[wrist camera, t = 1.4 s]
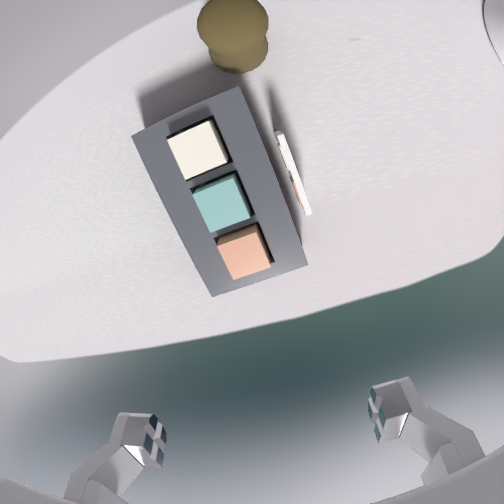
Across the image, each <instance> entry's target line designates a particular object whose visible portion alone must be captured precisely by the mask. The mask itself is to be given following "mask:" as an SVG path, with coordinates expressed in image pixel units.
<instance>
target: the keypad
mask: <svg viewBox="0 0 504 504" xmlns="http://www.w3.org/2000/svg"><path fill="white" fill-rule="evenodd" d="M211 120H213V121H214V123H215V126H216V128H217V130H218V133H219V135H220V137H221V140H222V142H223V144H224V147H225V149H226V151H227V154H228V156H229V159H228V161H227V163H224V164H222V165H219V166H217V167H215V168H212V169H210V170H207V171H205V172H203V173H200V174H198V175H196V176H193V177H191V178H189V179H186V180H185V178H184V176H183V174H182V172H181V170H180V167H179V165H178V163H177V161H176V159H175V157H174V154H173V152H172V150H171V148H170V146H169V143H168V141H167V140H168V139H170V138H172V137H174V136H176V135H179V134H181V133H183V132H185V131H187V130H189V129H192V128H194V127H196V126H198V125H200V124H203V123H205V122H207V121H211ZM274 135H275V138H276V140H277V145H278V147H279V150H280V153H281V155H282V158H283V161H284V163H285V166H286V168H287V169H288V172H289V174H290V179H291V182H292V185H293V187H294V190H295V193H296V196H297V198H298V201H299V203H300V205H301V206H302V208H303V210H304V212H305V214H306V216H308V215H311V214H312V211H311V208H310V205H309V203H308V200H307V197H306V194H305V191H304V188H303V185H302V182H301V180H300V177H299V174H298V171H297V168H296V166H295V163H294V160H293V157H292V155H291V152H290V149H289V147H288V144H287V142H286V139H285V136H284V134H283V133H282V132H280V131H276V132H274ZM131 137H132V139H133V141H134V143H135V146H136V148H137V150H138V152H139V154H140V157H141V159H142V161H143V163H144V165H145V167H146V169H147V171H148V174H149V176H150V178H151V180H152V182H153V184H154V186H155V188H156V190H157V192H158V194H159V196H160V198H161V200H162V202H163V204H164V206H165V208H166V210H167V212H168V214H169V216H170V218H171V220H172V222H173V224H174V226H175V228H176V230H177V232H178V234H179V236H180V238H181V240H182V242H183V244H184V246H185V248H186V249H187V251H188V253H189V255H190V257H191V259H192V261H193V263H194V265H195V266H196V268H197V270H198V272H199V274H200V276H201V278H202V279H203V281H204V283H205V285H206V287H207V289H208V290H209V292H210V294H211V296H212V297H214V296H217V295H220V294H223V293H227V292H230V291H233V290H236V289H239V288H242V287H245V286H248V285H251V284H254V283H257V282H260V281H263V280H266V279H269V278H272V277H275V276H278V275H281V274H283V273H286V272H289V271H292V270H295V269H298V268H301V267H304V266H307V265H308V263H307V260H306V257H305V254H304V251H303V248H302V245H301V242H300V239H299V236H298V234H297V231H296V228H295V225H294V222H293V220H292V217H291V214H290V212H289V209H288V206H287V203H286V201H285V198H284V195H283V193H282V190H281V187H280V185H279V182H278V180H277V177H276V174H275V172H274V169H273V167H272V164H271V162H270V159H269V156H268V154H267V151H266V149H265V146H264V144H263V141H262V139H261V136H260V134H259V131H258V129H257V127H256V124H255V122H254V119H253V117H252V114H251V112H250V110H249V107H248V105H247V103H246V100H245V98H244V95H243V93H242V91H241V89H240V87H239V86H238V87H235V88H232V89H230V90H227V91H225V92H222V93H220V94H218V95H215V96H213V97H210V98H208V99H206V100H203V101H201V102H199V103H197V104H194V105H192V106H190V107H188V108H186V109H183V110H181V111H179V112H177V113H175V114H173V115H171V116H169V117H167V118H165V119H163V120H161V121H159V122H157V123H155V124H153V125H151V126H149V127H147V128H145V129H143V130H142V131H140V132H138V133H136V134H134V135H132V136H131ZM232 172H236V175H237V177H238V179H239V182H240V184H241V186H242V189H243V191H244V194H245V196H246V198H247V201H248V203H249V205H250V218H248V219H246V220H243V221H240V222H238V223H235V224H232V225H230V226H227V227H224V228H222V229H219V230H217V231H214V232H211V233H210V231H209V229H208V227H207V225H206V223H205V221H204V219H203V217H202V214H201V212H200V210H199V208H198V206H197V204H196V202H195V200H194V198H193V195H192V194H193V193H194V191H195V190H196V189H197V187H198V186H201V185H203V184H205V183H208V182H210V181H213V180H215V179H217V178H220V177H222V176H225V175H227V174H230V173H232ZM255 222H257V225H258V227H259V229H260V232H261V234H262V237H263V239H264V241H265V244H266V246H267V249H268V251H269V254H270V263H271V267H270V268H267V269H264V270H262V271H259V272H256V273H253V274H250V275H247V276H244V277H241V278H238V279H235V280H233V278H232V276H231V274H230V272H229V270H228V268H227V266H226V264H225V262H224V260H223V258H222V256H221V254H220V252H219V250H218V248H217V244H218V240H219V236H220V235H222V234H225V233H228V232H230V231H233V230H236V229H238V228H241V227H244V226H246V225H249V224H252V223H255Z"/></svg>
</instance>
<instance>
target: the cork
mask: <svg viewBox="0 0 504 504" xmlns="http://www.w3.org/2000/svg"><path fill="white" fill-rule="evenodd" d="M197 30H198V33H199V36H200V38H201V39H202V40H203V41H204V43H205V44H206V45H207V46H208V47H209V54H210V57H211V60H212V61H213V62H214V63H215V64H216V66H217V67H219V68H221V69H222V70H224V71H226V72H230V73H245V72H249V71H252V70H253V69H255V68H257V67H258V66H259V65H260V64H261V63H262V62H263V61H264V60H265V57H266V55H267V52H268V42H267V39H266V36H265V35H266V32H267V30H268V16H267V13H266V10H265V9H264V7H263V6H262V5H261V4H260V3H259V2H258V1H257V0H210V1H208V2H207V3H206V4H205V6H204V7H203V8H202V9H201V11H200V14H199V16H198V19H197Z"/></svg>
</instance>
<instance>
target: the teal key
mask: <svg viewBox="0 0 504 504" xmlns="http://www.w3.org/2000/svg"><path fill="white" fill-rule="evenodd" d="M192 195H193V198H194V200H195V202H196V204H197V206H198V208H199V210H200V212H201V214H202V217H203V219H204V221H205V223H206V225H207V227H208V229H209V231H210V233H211V232H214V231H217V230H219V229H222V228H224V227H227V226H230V225H232V224H235V223H238V222H240V221H243V220H246V219H248V218H250V205H249V203H248V201H247V198H246V196H245V194H244V191H243V189H242V186H241V184H240V182H239V179H238V177H237V175H236V172H232V173H230V174H227V175H225V176H222V177H220V178H217V179H215V180H213V181H210V182H208V183H205V184H203V185H201V186H198V187H197V189H196V190H195V191H194V193H193V194H192Z"/></svg>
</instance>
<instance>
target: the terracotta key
mask: <svg viewBox="0 0 504 504" xmlns="http://www.w3.org/2000/svg"><path fill="white" fill-rule="evenodd" d="M217 248H218V250H219V252H220V254H221V256H222V258H223V260H224V262H225V264H226V266H227V268H228V270H229V272H230V274H231V276H232V278H233V280H235V279H238V278H241V277H244V276H247V275H250V274H253V273H256V272H259V271H262V270H264V269H267V268H270V267H271V263H270V254H269V251H268V249H267V246H266V244H265V241H264V239H263V237H262V234H261V232H260V229H259V227H258V225H257V222H255V223H252V224H249V225H246V226H244V227H241V228H238V229H236V230H233V231H230V232H228V233H225V234H222V235H220V236H219V240H218V244H217Z"/></svg>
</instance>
